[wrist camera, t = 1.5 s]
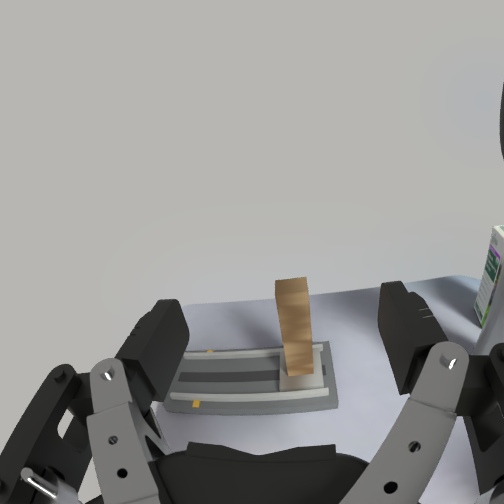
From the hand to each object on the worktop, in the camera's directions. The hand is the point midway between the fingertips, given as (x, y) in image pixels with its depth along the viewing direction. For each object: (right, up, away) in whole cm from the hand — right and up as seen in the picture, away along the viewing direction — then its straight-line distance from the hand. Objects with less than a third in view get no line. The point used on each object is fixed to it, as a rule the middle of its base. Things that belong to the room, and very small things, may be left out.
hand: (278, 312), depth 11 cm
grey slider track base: (-1, -15, +23) cm, 27 cm away
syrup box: (+37, -8, +20) cm, 43 cm away
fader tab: (+5, -12, +21) cm, 25 cm away
